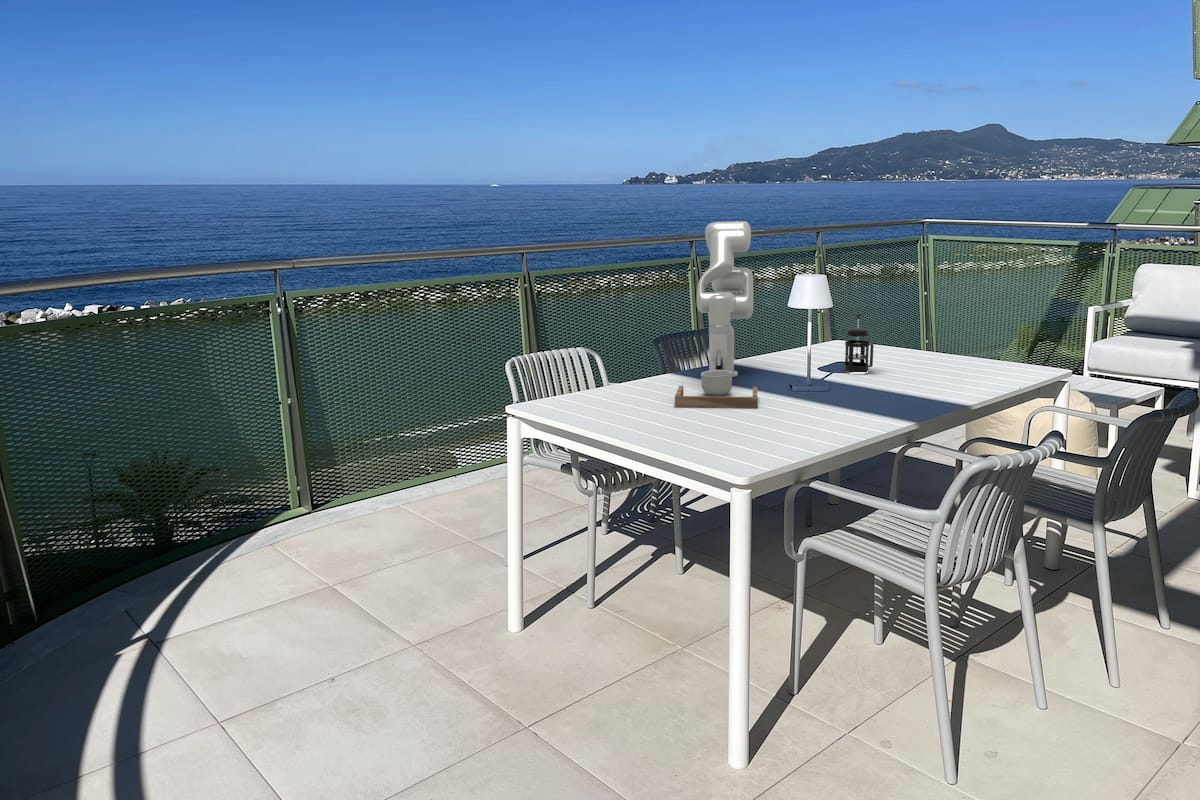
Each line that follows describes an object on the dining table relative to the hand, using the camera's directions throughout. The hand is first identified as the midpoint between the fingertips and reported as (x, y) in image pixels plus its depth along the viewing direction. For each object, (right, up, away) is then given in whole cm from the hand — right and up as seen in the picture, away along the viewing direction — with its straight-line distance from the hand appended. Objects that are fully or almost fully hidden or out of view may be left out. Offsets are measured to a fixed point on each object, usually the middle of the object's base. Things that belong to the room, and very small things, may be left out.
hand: (719, 379), depth 312 cm
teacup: (-2, -5, -8) cm, 9 cm away
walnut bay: (-3, -8, -19) cm, 21 cm away
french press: (+57, +3, +22) cm, 61 cm away
